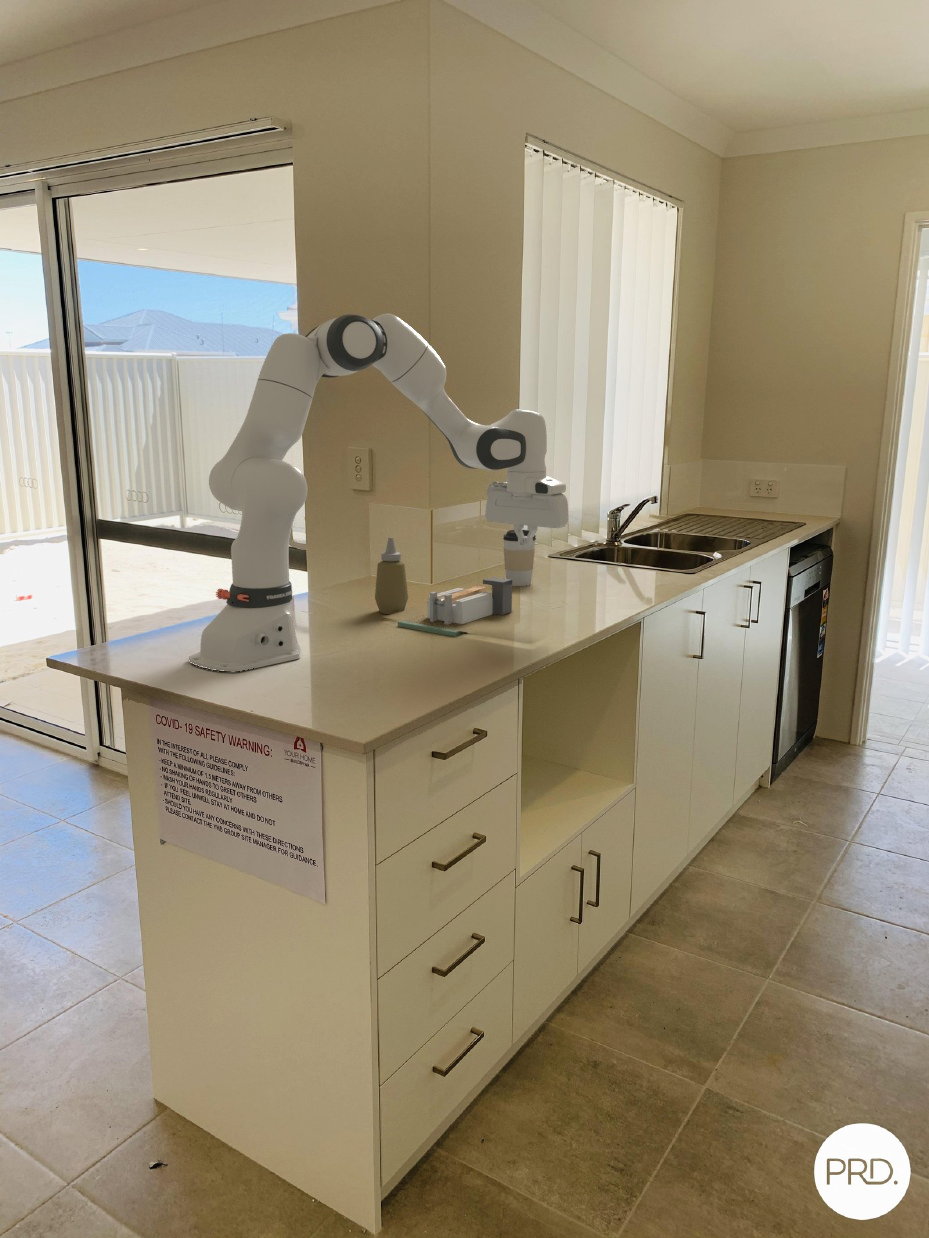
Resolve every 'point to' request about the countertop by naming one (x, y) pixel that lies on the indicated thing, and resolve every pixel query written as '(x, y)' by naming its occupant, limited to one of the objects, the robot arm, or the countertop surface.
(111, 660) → the countertop surface
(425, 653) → the countertop surface
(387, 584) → the squeeze bottle
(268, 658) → the robot arm
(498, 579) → the block
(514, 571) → the coffee cup
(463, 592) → the strap
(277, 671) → the countertop surface
